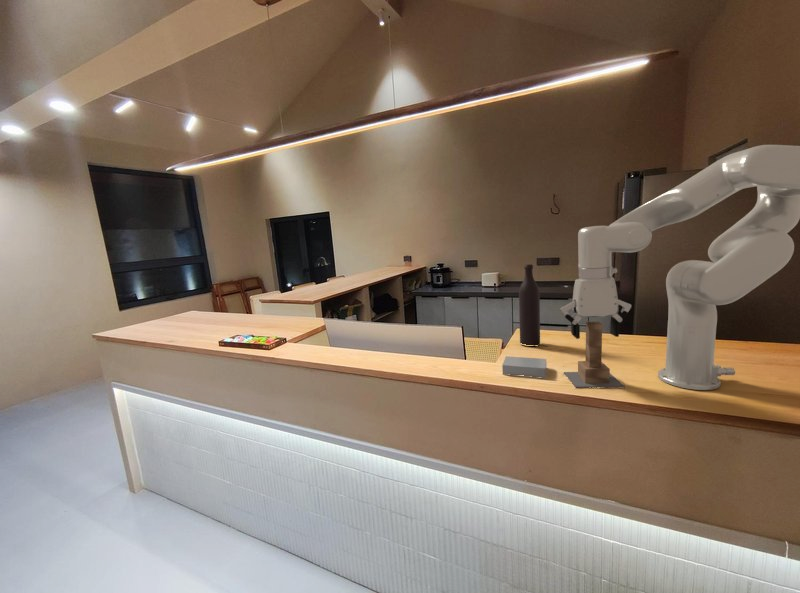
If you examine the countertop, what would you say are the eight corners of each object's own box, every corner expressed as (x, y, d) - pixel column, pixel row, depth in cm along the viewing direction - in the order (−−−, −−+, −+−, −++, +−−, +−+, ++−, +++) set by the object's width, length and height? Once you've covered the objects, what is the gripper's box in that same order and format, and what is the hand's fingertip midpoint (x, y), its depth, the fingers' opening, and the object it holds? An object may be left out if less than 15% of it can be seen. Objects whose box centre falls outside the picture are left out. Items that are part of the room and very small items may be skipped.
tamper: (600, 374, 97) (601, 319, 95) (609, 383, 92) (610, 325, 89) (577, 374, 99) (578, 320, 96) (585, 383, 93) (585, 325, 90)
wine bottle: (543, 343, 129) (542, 263, 124) (535, 348, 124) (534, 265, 119) (524, 340, 134) (523, 263, 129) (516, 345, 129) (514, 265, 124)
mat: (608, 372, 99) (608, 371, 99) (624, 387, 89) (624, 386, 89) (563, 373, 101) (563, 371, 101) (575, 388, 91) (575, 386, 91)
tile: (546, 358, 105) (505, 356, 110) (545, 368, 98) (502, 365, 103) (546, 369, 106) (506, 365, 111) (545, 379, 99) (502, 375, 104)
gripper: (623, 269, 93) (623, 330, 95) (555, 274, 95) (557, 334, 98) (638, 272, 85) (637, 338, 88) (564, 278, 88) (565, 342, 91)
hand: (595, 336), depth 93 cm, fingers open, 9 cm apart
